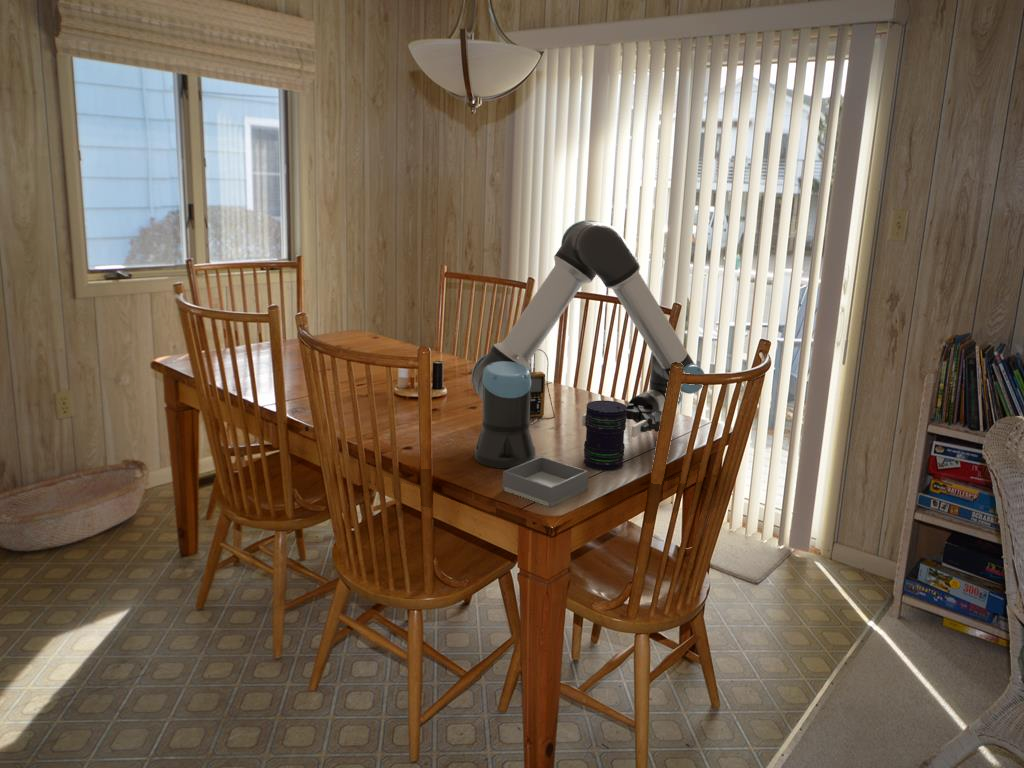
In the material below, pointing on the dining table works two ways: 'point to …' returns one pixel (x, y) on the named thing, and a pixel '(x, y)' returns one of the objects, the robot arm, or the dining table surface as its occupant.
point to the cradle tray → (545, 481)
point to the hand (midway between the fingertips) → (607, 426)
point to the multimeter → (538, 392)
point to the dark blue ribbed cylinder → (605, 435)
